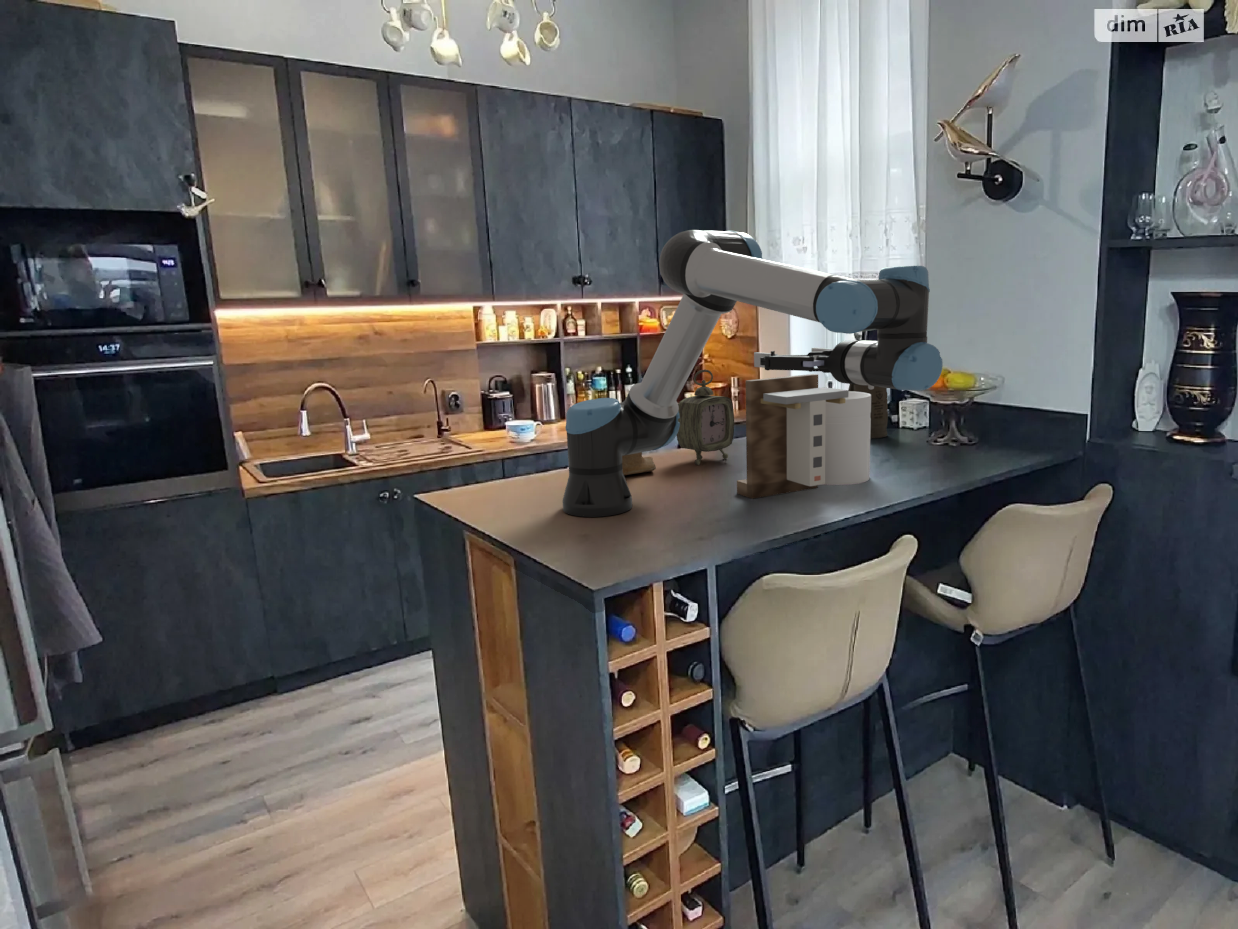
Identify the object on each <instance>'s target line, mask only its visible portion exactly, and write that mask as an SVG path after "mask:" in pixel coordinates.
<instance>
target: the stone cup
mask: <svg viewBox="0 0 1238 929" xmlns="http://www.w3.org/2000/svg"><path fill="white" fill-rule="evenodd" d="M656 467H657V465H656V464H655V463H654V460H653V457H652V456H645V457H644V456H643V452H640V453H635V454H630V455H625V456H622V468H623V474H624V476H628V475H637V474H643V473H647V472H653V471H655V470H656Z"/></svg>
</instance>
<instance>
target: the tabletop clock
mask: <svg viewBox="0 0 1238 929" xmlns="http://www.w3.org/2000/svg"><path fill="white" fill-rule="evenodd" d="M702 373H708V374H709V375H710V377H711V378H710V380H709V381H706V380H705V379H702V380H701V382H698V381H697V380H696V379H697V377H698V375H699V374H702ZM713 379H714V376H713V372H712V371H711V370H709V369H701V370H698V371H697V372H696V373H695V374H694V377H693V381H694V383H695V384H696V385H697V386H699V387H697V388H696V390H695V392H694V393H693V394H694V396H693V395H692V396H690V397H689V396H688V397H686V398H683V399H682V400H680V401H679V402H677V403H678V406H679V410H678V411H679V415H680V418H679V419H678V422H680V427H679V430H678V433H677V435H676V440H677V443H678V444H679V446H680V448H682V449H685V450H691V451H694V452H695V454H696V455H695V456H696V459H695V460H694V464H695V465H696V466H699V465H700V464H701V463H702V461H701V460H702V459H703V455H702V452H704V453H706V452H717V451H719V452H720V453H721V454H722V458H723V459H725V460H726V459H728V458H729V454H728V453H727V452H725V451H724V450H723V449H727V448H728V447H729V446H730V445H733V441H734V435H735V410H734V405H733V401H732V398H730V397H728V396H720V395H714V391H713V389H712V388H710V387H709V386H708V385H709V384H711V383H712V382H713Z"/></svg>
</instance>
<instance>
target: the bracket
mask: <svg viewBox="0 0 1238 929" xmlns="http://www.w3.org/2000/svg"><path fill="white" fill-rule="evenodd" d="M813 388H819V374H818V373H817V374H816V373H810V374H801V375H800V374H799V375H791V376H779V377H770V378H769V377H767V378H759V379H748V380H745V428H746V429H745V434H746V435H745V436H746V438H745V439H746V441H745V442H746V444H745V445H746V446H745V447H746V448H745V449H746V451H745V455H746V457H745V458H746V459H745V460H746V478H745V479H739V480H736V494H737V495H740V496H743V497H746V498H747V499H748V498H749V499H753V500H754V499H758V498H759V499H760V498H764V497H771V496H776V495H777V496H778V495H783V494H789V493H795V492H800V491H806V490H812V489H818V488H819V487H818V486H819V485H816V486H806V485H803V484H800V483H796V482H793V481H790V480H787V408H792V409H799V408H801V403H794V404H780V403H774V402H768V401H763V394H765V393H775V392H784V391H794V390H803V389H813ZM826 402H831V403H838V404H842V403H845V398H838V399H830V400H826Z"/></svg>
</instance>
